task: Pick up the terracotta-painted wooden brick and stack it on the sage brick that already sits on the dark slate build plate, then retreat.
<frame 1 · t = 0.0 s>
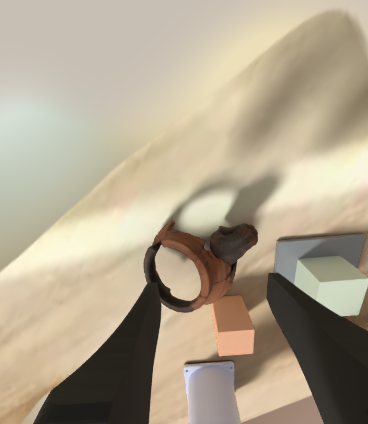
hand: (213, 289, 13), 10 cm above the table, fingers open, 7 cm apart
brown ring with handle: (200, 242, 23), on the table
brick a: (315, 274, 24), resting on build plate
build plate: (312, 271, 25), on the table
brick b: (226, 307, 27), on the table
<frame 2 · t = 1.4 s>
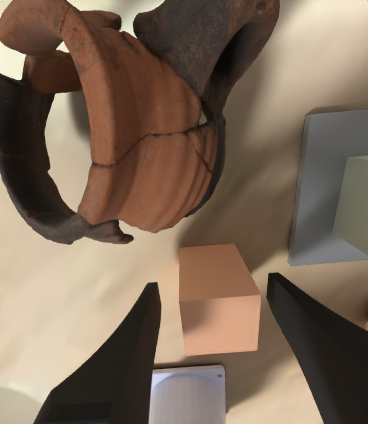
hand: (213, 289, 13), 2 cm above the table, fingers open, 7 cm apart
brown ring with handle: (154, 132, 12), on the table
brick b: (208, 267, 15), on the table
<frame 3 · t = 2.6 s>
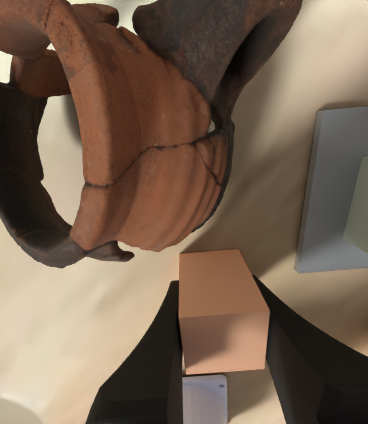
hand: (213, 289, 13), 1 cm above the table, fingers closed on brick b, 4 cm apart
brown ring with handle: (155, 137, 11), on the table
brick b: (210, 275, 14), on the table, touching gripper
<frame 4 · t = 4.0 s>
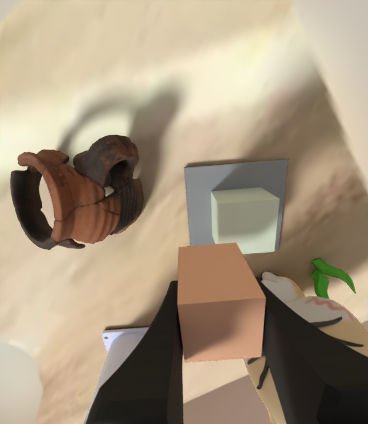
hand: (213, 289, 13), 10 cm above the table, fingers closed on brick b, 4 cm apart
brown ring with handle: (103, 183, 20), on the table
brick a: (235, 212, 20), resting on build plate
build plate: (234, 210, 21), on the table
brick b: (208, 268, 14), point 8 cm above the table, touching gripper
kitten: (271, 287, 25), on the table
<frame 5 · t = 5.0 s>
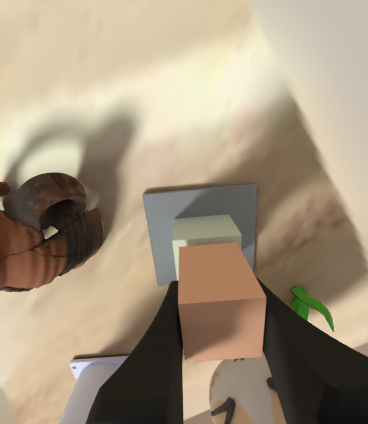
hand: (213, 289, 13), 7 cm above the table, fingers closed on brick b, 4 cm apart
brown ring with handle: (59, 213, 18), on the table
brick a: (202, 240, 18), resting on build plate
build plate: (202, 237, 19), on the table
brick b: (209, 268, 14), point 5 cm above the table, touching gripper
kitten: (249, 315, 23), on the table
when the fingers open (7 cm above the table, at t = 5.7 s): brick b stays where it is, resting on brick a.
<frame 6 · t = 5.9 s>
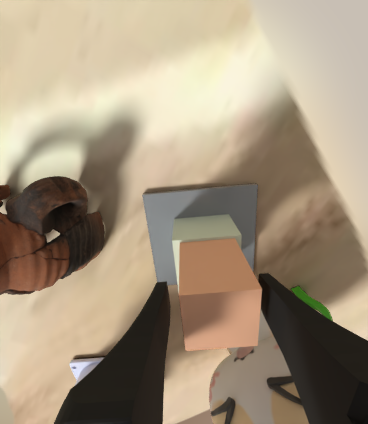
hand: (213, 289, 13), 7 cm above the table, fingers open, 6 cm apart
brown ring with handle: (60, 215, 18), on the table
brick a: (202, 240, 18), resting on build plate, touching brick b
build plate: (202, 237, 19), on the table
brick b: (208, 263, 15), point 4 cm above the table, touching brick a
kitten: (249, 315, 23), on the table
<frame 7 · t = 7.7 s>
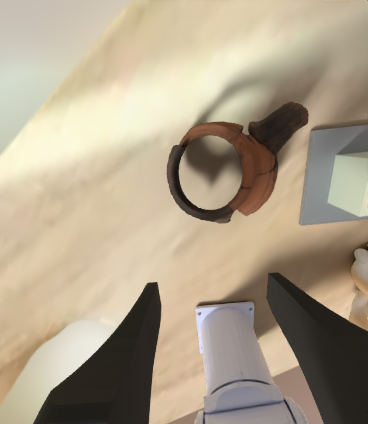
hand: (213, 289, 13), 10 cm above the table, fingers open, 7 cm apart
brown ring with handle: (228, 160, 20), on the table
brick a: (355, 177, 20), resting on build plate, touching brick b
build plate: (351, 176, 20), on the table
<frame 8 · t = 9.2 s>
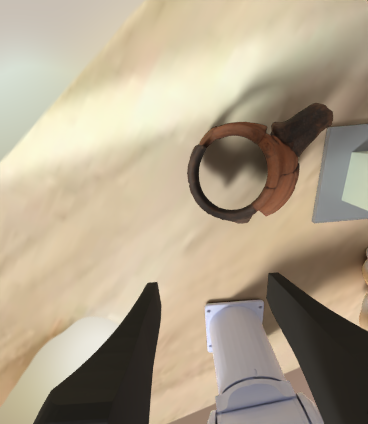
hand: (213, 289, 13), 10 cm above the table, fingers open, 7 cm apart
brown ring with handle: (245, 161, 20), on the table
build plate: (366, 174, 20), on the table
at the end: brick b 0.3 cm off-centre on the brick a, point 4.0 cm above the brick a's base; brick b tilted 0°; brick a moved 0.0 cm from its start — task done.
